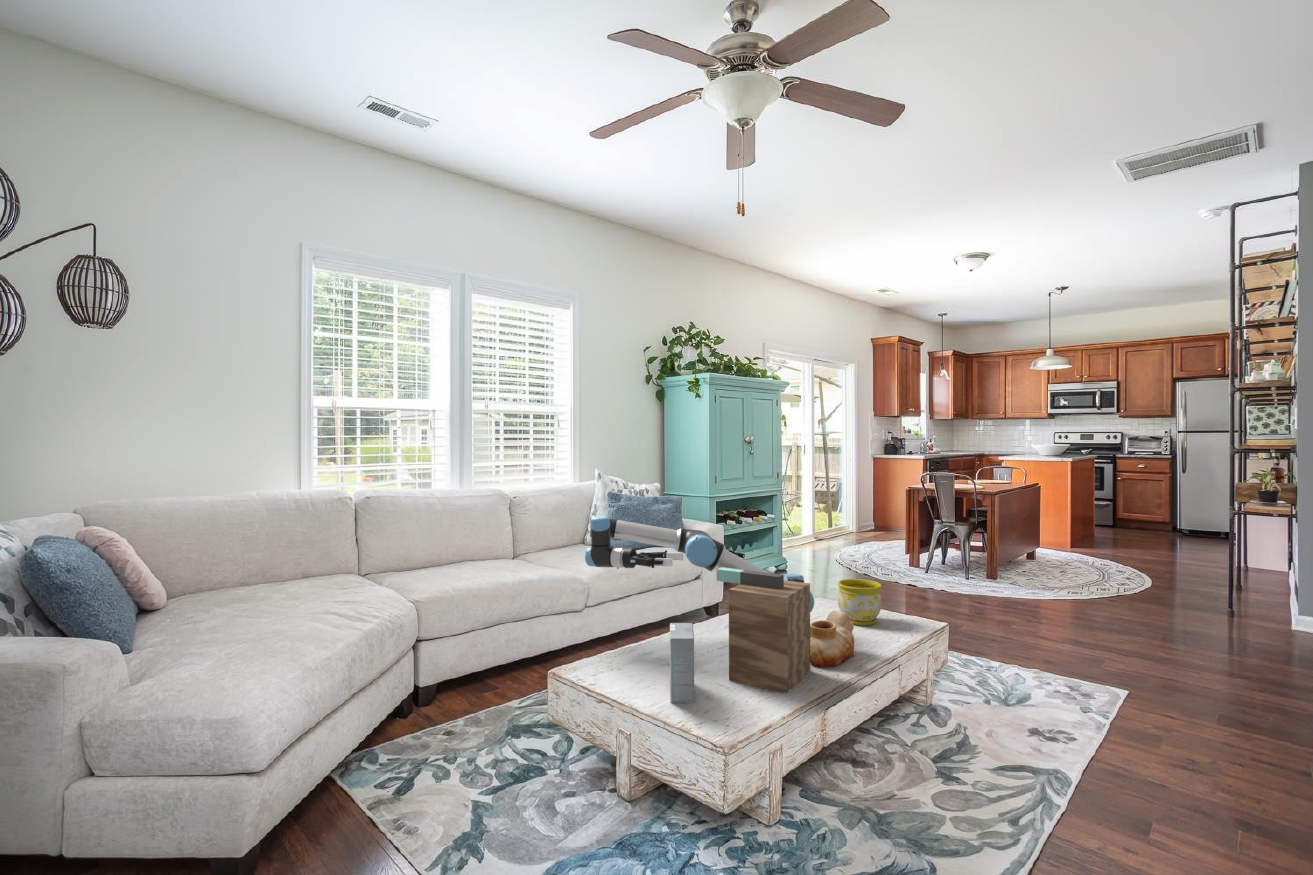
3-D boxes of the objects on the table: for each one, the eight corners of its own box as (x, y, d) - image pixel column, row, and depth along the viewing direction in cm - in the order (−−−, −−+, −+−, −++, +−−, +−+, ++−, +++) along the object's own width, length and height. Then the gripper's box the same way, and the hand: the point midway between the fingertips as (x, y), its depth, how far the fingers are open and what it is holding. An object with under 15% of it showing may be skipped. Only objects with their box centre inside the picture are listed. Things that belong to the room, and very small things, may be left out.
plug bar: (716, 580, 226) (716, 569, 226) (721, 578, 230) (721, 567, 229) (779, 589, 214) (779, 576, 214) (783, 586, 217) (783, 574, 217)
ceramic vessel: (863, 651, 241) (863, 611, 241) (834, 672, 221) (834, 628, 221) (828, 644, 250) (828, 605, 250) (796, 663, 230) (796, 621, 230)
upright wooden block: (755, 660, 233) (755, 576, 232) (810, 670, 222) (810, 583, 222) (728, 680, 214) (728, 589, 214) (787, 693, 203) (786, 597, 203)
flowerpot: (831, 616, 287) (831, 579, 287) (870, 614, 289) (870, 578, 289) (847, 628, 269) (847, 588, 269) (889, 626, 271) (889, 587, 271)
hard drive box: (670, 683, 212) (670, 622, 212) (693, 683, 212) (693, 622, 211) (669, 703, 196) (669, 637, 196) (695, 703, 196) (694, 637, 196)
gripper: (636, 562, 261) (687, 563, 254) (612, 573, 238) (667, 575, 231) (635, 543, 261) (686, 544, 255) (611, 552, 238) (667, 554, 231)
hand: (677, 559), depth 243 cm, fingers open, 13 cm apart
